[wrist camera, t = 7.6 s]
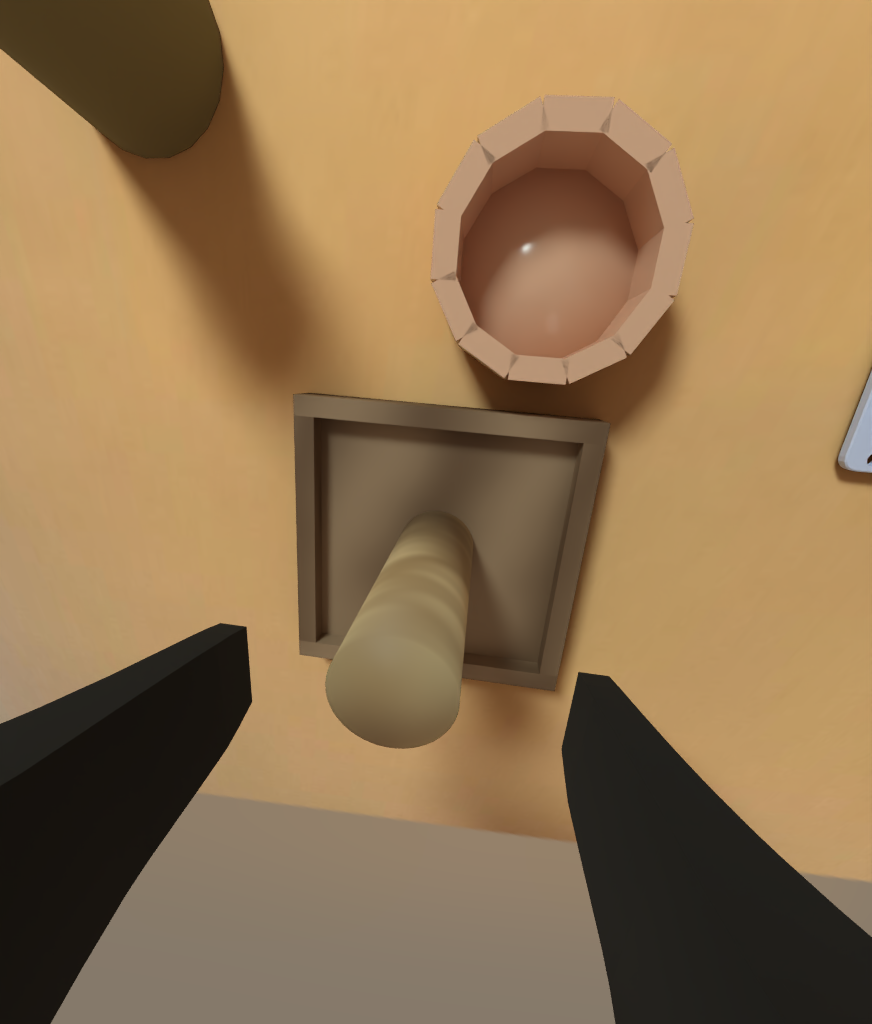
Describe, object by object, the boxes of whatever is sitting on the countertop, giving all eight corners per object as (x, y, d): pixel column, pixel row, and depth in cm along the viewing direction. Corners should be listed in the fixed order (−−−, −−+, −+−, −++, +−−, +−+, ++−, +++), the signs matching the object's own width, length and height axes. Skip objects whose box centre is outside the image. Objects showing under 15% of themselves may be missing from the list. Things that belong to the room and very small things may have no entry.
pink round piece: (677, 153, 14) (722, 100, 11) (626, 390, 16) (654, 392, 14) (450, 144, 14) (443, 91, 12) (433, 373, 17) (424, 372, 14)
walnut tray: (598, 419, 17) (610, 423, 15) (549, 668, 20) (554, 691, 19) (309, 392, 18) (293, 394, 16) (312, 635, 21) (299, 654, 20)
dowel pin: (478, 516, 18) (468, 650, 9) (467, 583, 19) (450, 759, 10) (404, 505, 18) (326, 626, 9) (397, 572, 19) (323, 735, 10)
